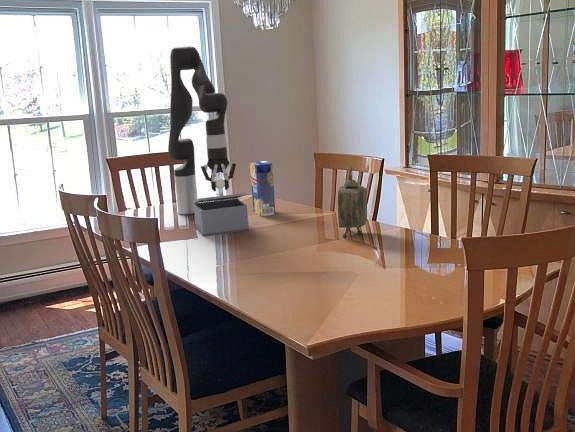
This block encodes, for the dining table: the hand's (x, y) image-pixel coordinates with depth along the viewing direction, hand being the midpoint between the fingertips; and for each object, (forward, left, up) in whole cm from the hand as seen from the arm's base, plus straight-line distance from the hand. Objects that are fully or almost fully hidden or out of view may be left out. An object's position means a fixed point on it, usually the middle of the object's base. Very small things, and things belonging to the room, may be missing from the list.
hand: (220, 190), depth 252 cm
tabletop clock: (+31, +42, -17) cm, 55 cm away
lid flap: (-4, 0, -4) cm, 6 cm away
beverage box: (-23, +23, -17) cm, 36 cm away
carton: (-4, 0, -16) cm, 17 cm away
